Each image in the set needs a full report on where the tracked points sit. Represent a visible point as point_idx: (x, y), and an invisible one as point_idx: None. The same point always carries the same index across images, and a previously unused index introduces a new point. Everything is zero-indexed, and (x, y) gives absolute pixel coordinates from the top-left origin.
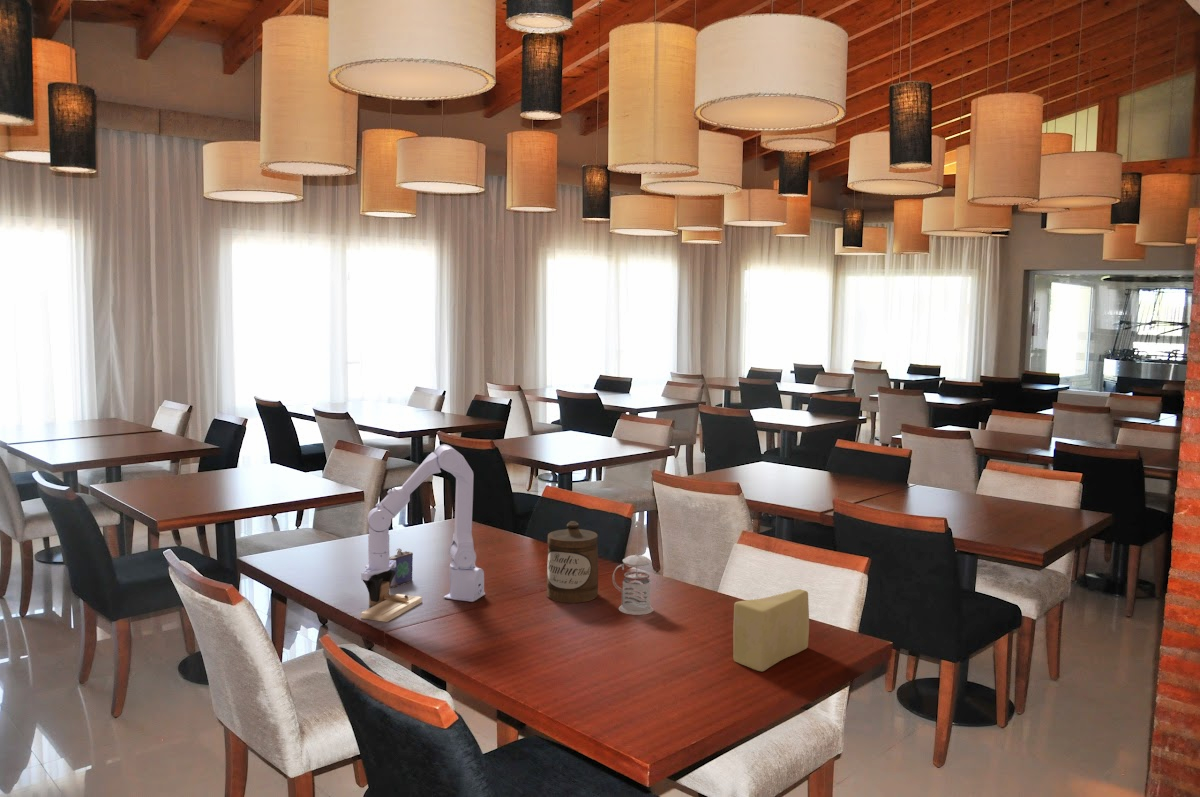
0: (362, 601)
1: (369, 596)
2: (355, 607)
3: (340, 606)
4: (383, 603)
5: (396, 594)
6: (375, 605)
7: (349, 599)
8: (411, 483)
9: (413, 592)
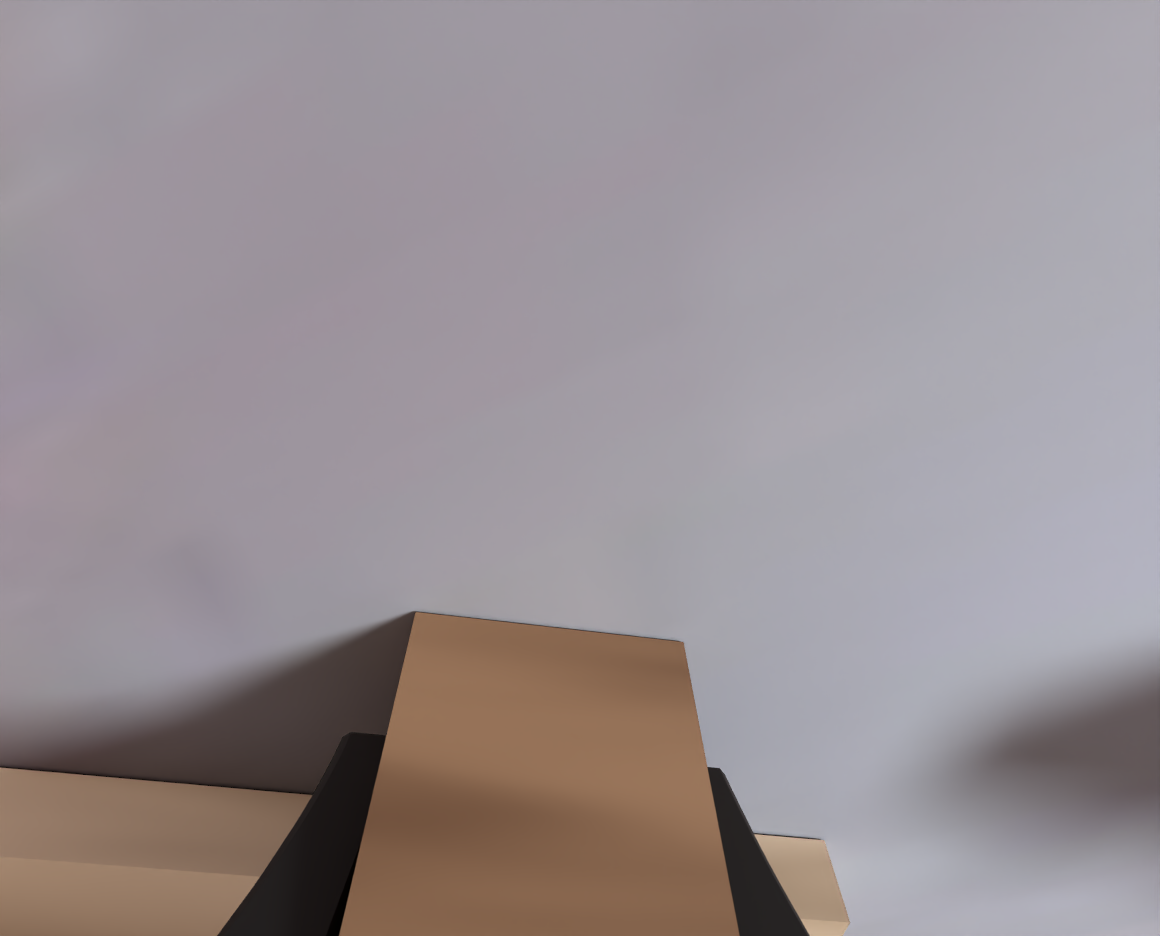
0: (596, 415)
1: (385, 752)
2: (175, 443)
3: (53, 59)
4: None
5: (808, 924)
6: (132, 874)
7: (689, 26)
8: None
9: (1151, 901)
